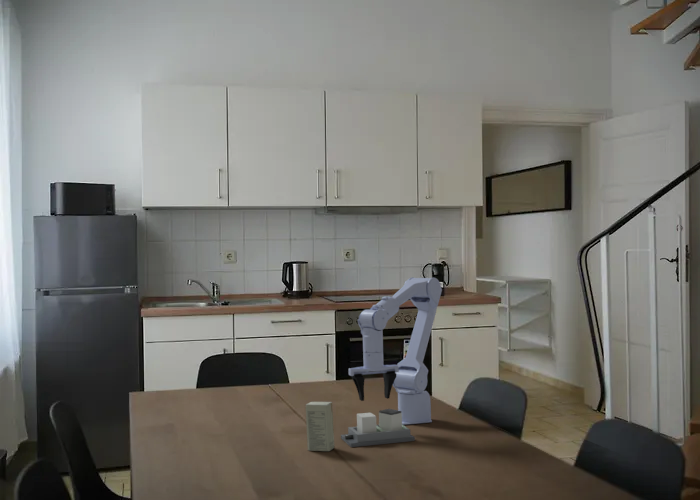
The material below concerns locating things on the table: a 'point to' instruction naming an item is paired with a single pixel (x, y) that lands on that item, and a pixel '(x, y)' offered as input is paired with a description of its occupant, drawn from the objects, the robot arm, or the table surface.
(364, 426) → the socket board
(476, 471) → the table surface
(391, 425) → the plug
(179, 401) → the table surface
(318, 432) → the skincare box
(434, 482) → the table surface
